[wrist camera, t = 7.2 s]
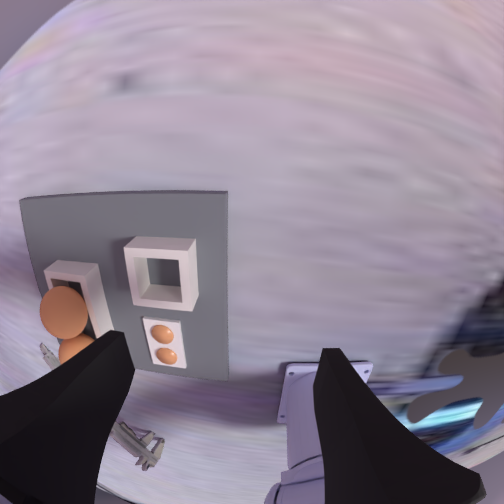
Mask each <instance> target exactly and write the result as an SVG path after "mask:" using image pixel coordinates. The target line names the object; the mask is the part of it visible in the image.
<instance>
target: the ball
mask: <svg viewBox="0 0 504 504" xmlns="http://www.w3.org/2000/svg"><path fill="white" fill-rule="evenodd" d="M40 317H41V321H42V323H43V325H44V327H45V328H46V330H47V331H48V332H49V333H50V334H52V335H53V336H55V337H57V338H60V339H71V338H74V337H76V336H78V335H79V334H80V333H81V332H82V331H83V329H84V328H85V326H86V323H87V319H88V310H87V306H86V303H85V301H84V299H83V297H82V296H81V295H80V294H79V293H78V292H77V291H76V290H74V289H73V288H70V287H67V286H57V287H54V288H52V289H50V290H49V291H48V292H47V293H46V294H45V295H44V297H43V299H42V301H41V304H40Z"/></svg>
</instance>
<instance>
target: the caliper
mask: <svg viewBox="0 0 504 504" xmlns="http://www.w3.org/2000/svg"><path fill="white" fill-rule="evenodd" d="M40 348H41V351H42V352H43V354H44V355H45V356H44V357H43V359H44V360H45V362H46V363H47V364H48V365H49V367H50V368H51V369H52V370H54V369H55V368H57V367H58V366H60V365H61V364H60V361H59V359H58V358H57V357H56V356H55V355H54V354H53V353H52V352H51V351H50V352H49V351H48V349H47V348H46V346H45V345H44V344H43V343H42V344H41V346H40ZM154 435H155V433H154V432H150V433H148V434H146V435H145V436H143V437H142V438H140V439H138V438H137V437H136V435H135V433H134V432H133V430H132V429H130V428H128V427H127V425H126V424H125V423H124V422H120V423H117V422H116V421H115V423H114V425H113V427H112V430H111V433H110V436H111V437H112V438H113V439H114V440H116V441H117V442H118V443H119V444H120V445H121V446H122V447H124V448H125V449H126V450H127V451H128V452H129V453H131V454H132V455H133V456H134V457H139V460H138V461H137V462H136V464H135V465H141V464H142V470H143V471H147V469H148V468H149V467H154V466H155V465H156V463H157V462H158V460H159V459H160V457H161V454H162V451H163V447H164V444H165V441H164V439H163V438H162V439H159V440H158V441H157V443H156V444H155V446H154V447H153V449H152V450H151V451H149V450H148V449H147V448H146V447H147V446H148V445H149V443H150V442H151V440H152V439H153V437H154Z"/></svg>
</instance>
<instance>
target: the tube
mask: <svg viewBox="0 0 504 504" xmlns="http://www.w3.org/2000/svg"><path fill="white" fill-rule="evenodd" d="M124 254H125V261H126V267H127V273H128V279H129V285H130V290H131V295H132V300H133V305H137V306H145V307H153V308H162V309H171V310H181V311H193V309H194V306H195V303H196V301H197V298H198V296H199V292H198V276H197V256H196V239H192V238H168V237H143V236H136V237H135V238H134V239H133V240H131V241H130V242H129V243H128V244H127V245H126V246H125V247H124ZM147 258H157V259H173V260H179V271H180V283H181V287H179V286H167V285H156V284H150V280H149V272H148V265H147Z"/></svg>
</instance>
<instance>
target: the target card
mask: <svg viewBox="0 0 504 504" xmlns="http://www.w3.org/2000/svg"><path fill="white" fill-rule="evenodd" d="M143 322H144V327H145V331H146V336H147V340H148V344H149V348H150V353H151V356H152V360H153V364H159V365H165V366H172V367H179V368H186V367H187V364H186V358H185V352H184V345H183V338H182V331H181V323H180V321H179V320H170V319H162V318H153V317H146V316H144V317H143Z"/></svg>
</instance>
